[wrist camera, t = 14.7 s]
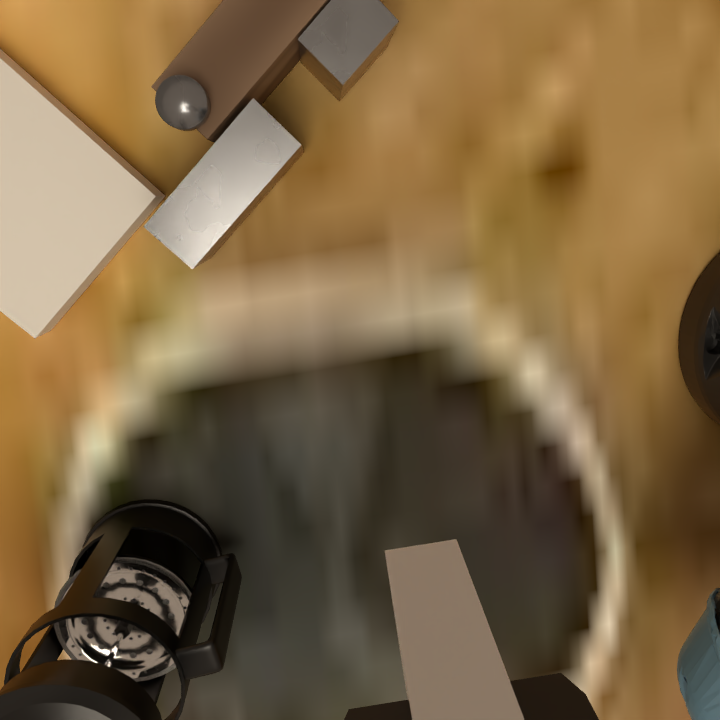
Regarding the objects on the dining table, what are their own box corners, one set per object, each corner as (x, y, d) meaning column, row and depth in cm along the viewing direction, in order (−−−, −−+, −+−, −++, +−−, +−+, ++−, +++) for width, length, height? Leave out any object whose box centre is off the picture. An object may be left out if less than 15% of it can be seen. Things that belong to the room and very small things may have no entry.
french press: (100, 638, 46) (-105, 1052, 24) (53, 520, 44) (-222, 858, 22) (263, 598, 46) (209, 975, 24) (224, 478, 44) (126, 773, 22)
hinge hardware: (307, -36, 37) (304, -91, 29) (391, 52, 38) (408, 20, 31) (125, 182, 39) (81, 180, 32) (210, 258, 40) (187, 272, 33)
